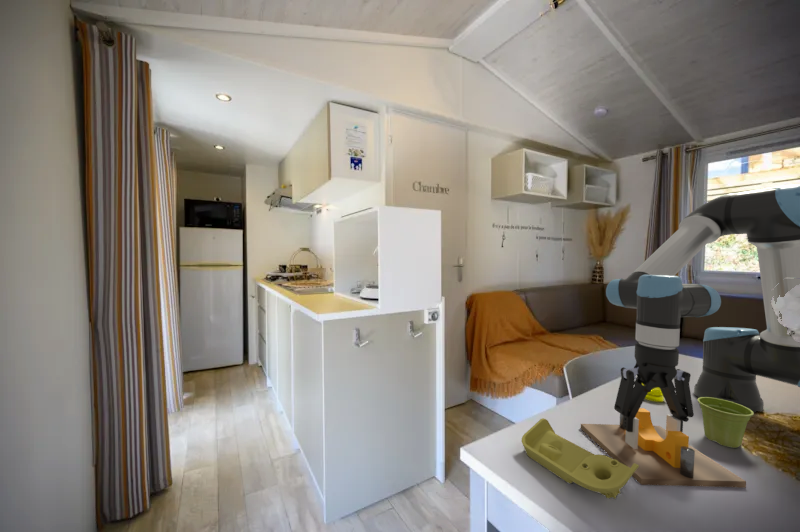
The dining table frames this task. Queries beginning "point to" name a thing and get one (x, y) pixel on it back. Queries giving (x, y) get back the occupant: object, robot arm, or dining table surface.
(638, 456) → the base plate
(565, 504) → the dining table surface
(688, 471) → the locating stubs
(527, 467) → the dining table surface
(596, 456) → the plastic component
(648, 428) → the pipe clamp
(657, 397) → the gear
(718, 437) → the plant pot
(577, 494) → the dining table surface
